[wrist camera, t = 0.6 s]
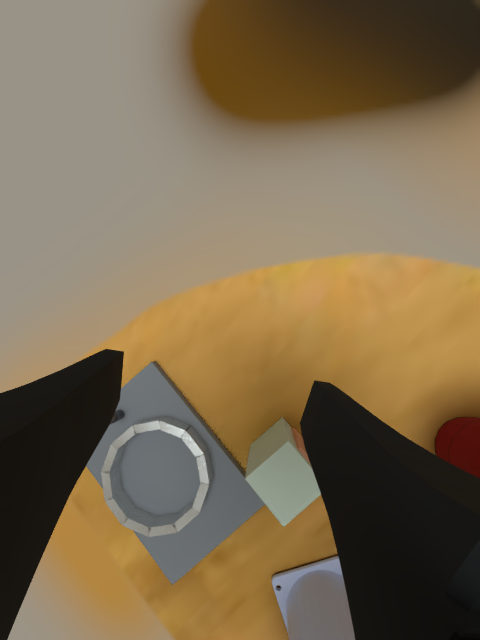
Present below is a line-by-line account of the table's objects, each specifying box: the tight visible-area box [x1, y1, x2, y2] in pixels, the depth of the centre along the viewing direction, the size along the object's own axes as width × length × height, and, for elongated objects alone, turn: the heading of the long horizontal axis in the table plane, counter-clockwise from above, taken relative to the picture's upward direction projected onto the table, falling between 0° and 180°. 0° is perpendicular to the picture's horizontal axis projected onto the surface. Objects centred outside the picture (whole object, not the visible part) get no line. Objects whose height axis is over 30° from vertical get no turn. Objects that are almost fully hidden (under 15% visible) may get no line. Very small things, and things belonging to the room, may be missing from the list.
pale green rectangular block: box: [245, 417, 321, 527], centre depth 26 cm, size 4×5×8 cm
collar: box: [101, 410, 213, 537], centre depth 29 cm, size 13×10×2 cm
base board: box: [86, 361, 265, 585], centre depth 30 cm, size 18×12×1 cm, turn 41°
